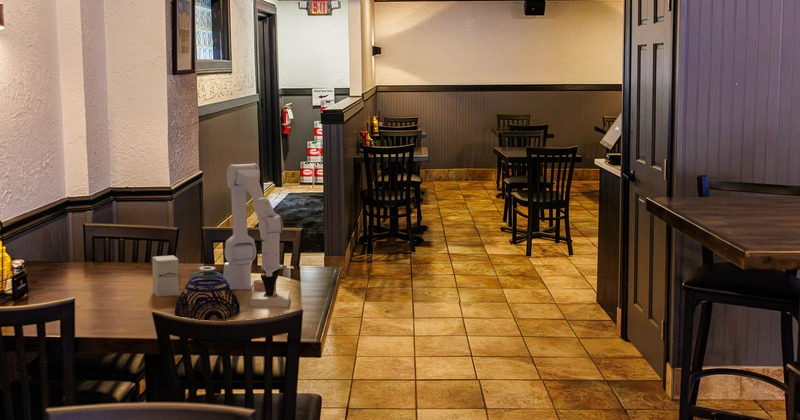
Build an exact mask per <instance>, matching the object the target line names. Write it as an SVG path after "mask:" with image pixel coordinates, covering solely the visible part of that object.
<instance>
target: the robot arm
mask: <svg viewBox="0 0 800 420" xmlns="http://www.w3.org/2000/svg"><path fill="white" fill-rule="evenodd" d="M260 177H261V172H260V168H259V165H258V164H257V163H255V162H253V163H244V164H243V163H242V164H241V163H239V164H234V163H232V164H230V165H228V168H227V170H226V183H227V188H229V189H230V193H231V213H232V214H231V215H232V216H231V217H232V235H231V236H230V237H229V238H228V239H226V241H225V247H224V257H225V260H226V261H227V262H224V264H223V278H225V279H226V280H227V283H228V284H229V286H230V287H229V288H230V289H231V290H251V289H252V287H253V282H252V281H251V280H252V278H251V277H252V273H251V272H252V263H253V261H254V260H255V259H256V257H257V247H256V245H255V243H256V242H255V239H254V238H253V237H251V236H250V235H249V234H248V216H247V215H248V214H247V191H248V193H249V194H250V197H251V198H252V200H253V202H254V203H253V205H252V207H253V211H254V212H255V214H256V216H257V219H258V231H259V233H260V234H259V235H260V239H261V266H260V267H261V269H262V271H263V273H261V274H260V280H262V281H263V283H264V287H265V292H266V296H273V293H274V287H275V282H276V283H277V279H278V278H279V273H280V271H281V269H283V268H284V265H283V264H280V239H281V238H280V234H281V233H282V232H283V230H284V221H283V219H282V216H281V215H279V214H278V213H276V212H275V210H274V208H273V206H272V203H271V202H270V200H269V198H267V197H265V195H264V193H263V190H262V186H261V184H260ZM225 285H227V284H223V287H224V286H225Z"/></svg>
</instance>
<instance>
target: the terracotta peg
mask: <svg viewBox="0 0 800 420" xmlns="http://www.w3.org/2000/svg"><path fill="white" fill-rule="evenodd" d="M252 283H253V285H252V287H253V289H252V291H253V292H254V291H265V287H264V283H263V281H262V279H256V280H254V281H253V282H252Z"/></svg>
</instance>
